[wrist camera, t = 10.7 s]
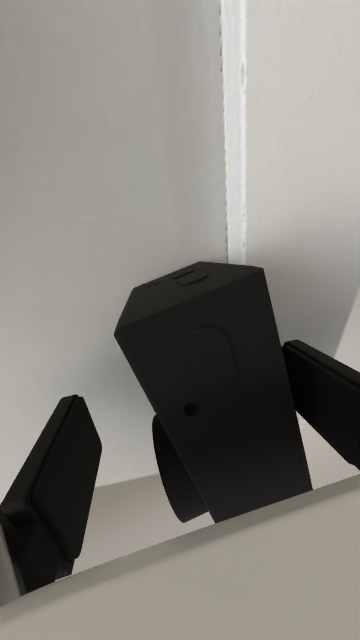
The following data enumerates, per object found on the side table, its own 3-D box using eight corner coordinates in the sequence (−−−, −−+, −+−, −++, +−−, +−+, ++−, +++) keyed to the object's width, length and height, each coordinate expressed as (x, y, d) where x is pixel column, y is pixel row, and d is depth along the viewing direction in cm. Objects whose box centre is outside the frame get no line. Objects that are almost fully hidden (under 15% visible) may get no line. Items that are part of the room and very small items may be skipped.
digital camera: (110, 295, 12) (61, 347, 5) (198, 259, 12) (266, 264, 5) (175, 424, 15) (198, 556, 8) (243, 395, 15) (317, 502, 9)
